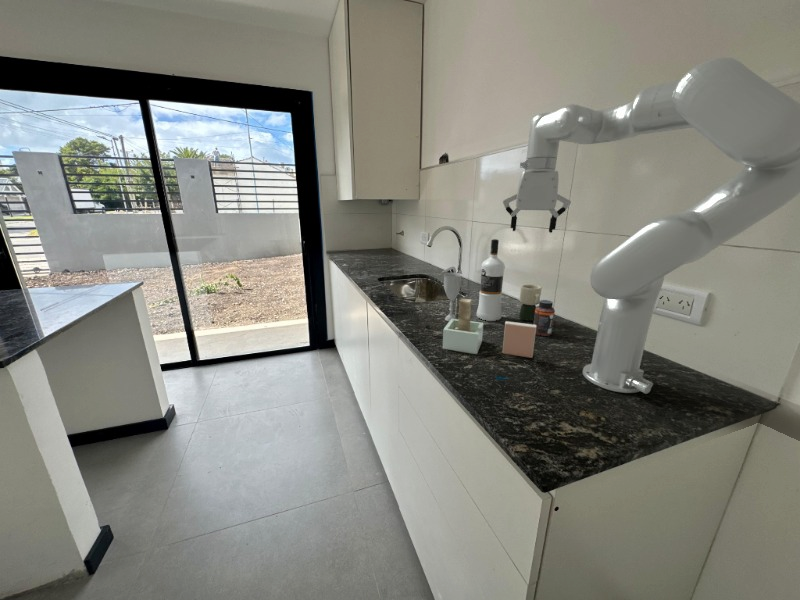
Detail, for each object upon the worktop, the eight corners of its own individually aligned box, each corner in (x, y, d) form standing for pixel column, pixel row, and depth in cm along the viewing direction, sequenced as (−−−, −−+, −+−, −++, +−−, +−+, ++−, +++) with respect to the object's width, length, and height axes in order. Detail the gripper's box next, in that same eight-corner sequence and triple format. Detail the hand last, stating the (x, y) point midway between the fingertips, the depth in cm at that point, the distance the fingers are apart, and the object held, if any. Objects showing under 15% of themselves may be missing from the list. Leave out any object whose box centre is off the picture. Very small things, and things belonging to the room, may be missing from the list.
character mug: (544, 324, 115) (548, 289, 111) (526, 325, 114) (530, 290, 110) (528, 314, 125) (532, 282, 122) (511, 315, 124) (515, 283, 121)
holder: (481, 343, 98) (483, 322, 96) (476, 357, 89) (478, 334, 88) (450, 339, 102) (451, 318, 100) (442, 351, 93) (443, 329, 91)
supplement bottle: (554, 336, 104) (559, 304, 100) (536, 336, 104) (540, 304, 101) (547, 330, 109) (551, 298, 106) (529, 330, 109) (533, 298, 106)
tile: (532, 358, 89) (536, 325, 86) (532, 361, 87) (536, 327, 84) (502, 353, 92) (505, 321, 89) (501, 356, 90) (505, 323, 87)
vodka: (505, 321, 118) (513, 240, 110) (481, 322, 117) (487, 240, 108) (494, 313, 127) (501, 238, 118) (472, 314, 126) (478, 238, 117)
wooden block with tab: (472, 343, 96) (475, 299, 92) (470, 347, 93) (473, 302, 89) (455, 341, 98) (458, 298, 94) (453, 345, 95) (455, 300, 91)
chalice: (437, 319, 119) (439, 273, 114) (452, 317, 122) (454, 271, 117) (448, 326, 113) (450, 277, 108) (463, 323, 116) (466, 275, 111)
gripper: (505, 166, 84) (499, 231, 89) (578, 163, 78) (567, 234, 83) (507, 168, 91) (501, 229, 96) (574, 167, 85) (564, 231, 90)
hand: (531, 231), depth 89 cm, fingers open, 9 cm apart
